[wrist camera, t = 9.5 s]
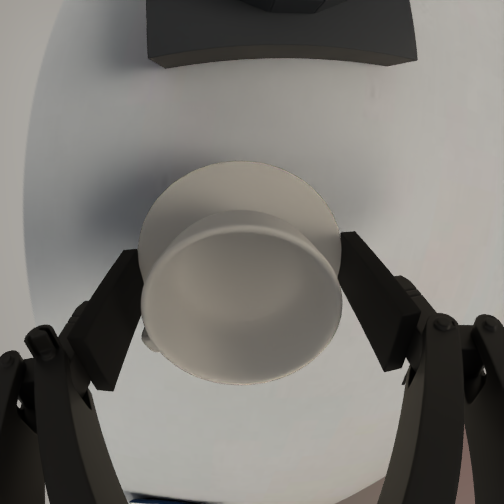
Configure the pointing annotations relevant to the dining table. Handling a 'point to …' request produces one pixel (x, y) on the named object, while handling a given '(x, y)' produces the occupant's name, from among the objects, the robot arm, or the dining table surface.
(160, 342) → the teacup
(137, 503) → the plate
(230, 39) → the yellow button cap base
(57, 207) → the dining table surface
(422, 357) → the robot arm
